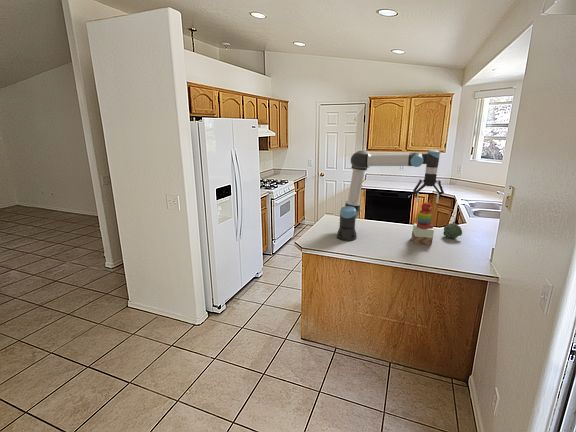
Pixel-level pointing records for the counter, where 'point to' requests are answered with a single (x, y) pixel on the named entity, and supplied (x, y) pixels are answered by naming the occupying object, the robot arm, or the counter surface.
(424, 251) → the counter surface
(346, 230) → the robot arm
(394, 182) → the counter surface
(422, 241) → the lower slab
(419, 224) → the stacking bear
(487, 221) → the counter surface
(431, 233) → the upper slab
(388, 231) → the counter surface
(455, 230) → the vegetable
